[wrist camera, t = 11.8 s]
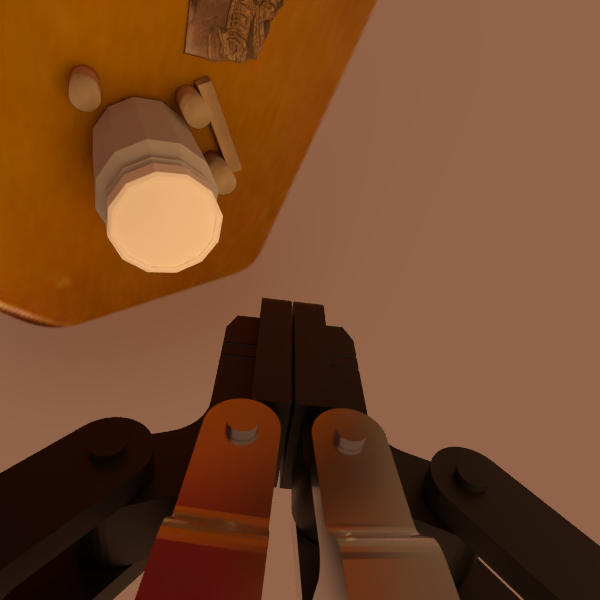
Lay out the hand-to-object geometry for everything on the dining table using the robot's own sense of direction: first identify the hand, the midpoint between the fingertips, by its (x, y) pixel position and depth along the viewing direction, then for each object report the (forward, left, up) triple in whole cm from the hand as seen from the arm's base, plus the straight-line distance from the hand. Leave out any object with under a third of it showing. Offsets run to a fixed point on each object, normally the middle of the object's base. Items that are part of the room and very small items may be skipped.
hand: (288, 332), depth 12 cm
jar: (+3, -9, -42) cm, 43 cm away
